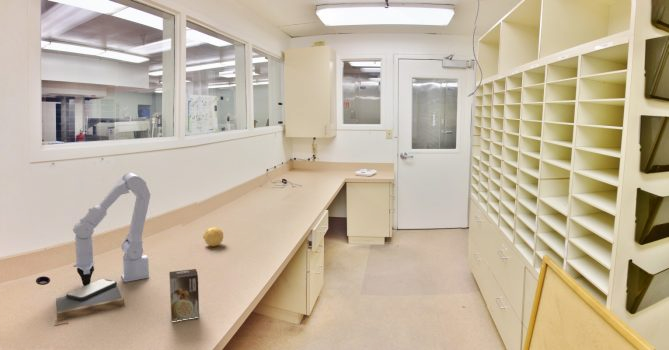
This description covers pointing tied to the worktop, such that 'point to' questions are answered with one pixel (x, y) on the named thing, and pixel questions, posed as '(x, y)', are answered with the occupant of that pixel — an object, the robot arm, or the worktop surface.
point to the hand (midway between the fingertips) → (86, 285)
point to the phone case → (91, 289)
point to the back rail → (90, 308)
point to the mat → (104, 296)
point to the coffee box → (184, 294)
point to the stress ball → (213, 236)
